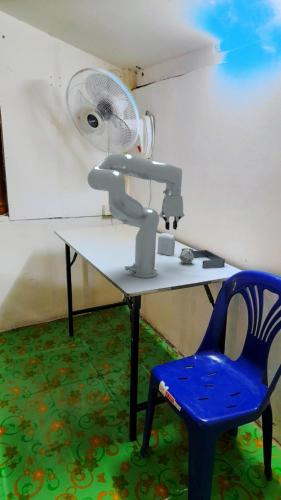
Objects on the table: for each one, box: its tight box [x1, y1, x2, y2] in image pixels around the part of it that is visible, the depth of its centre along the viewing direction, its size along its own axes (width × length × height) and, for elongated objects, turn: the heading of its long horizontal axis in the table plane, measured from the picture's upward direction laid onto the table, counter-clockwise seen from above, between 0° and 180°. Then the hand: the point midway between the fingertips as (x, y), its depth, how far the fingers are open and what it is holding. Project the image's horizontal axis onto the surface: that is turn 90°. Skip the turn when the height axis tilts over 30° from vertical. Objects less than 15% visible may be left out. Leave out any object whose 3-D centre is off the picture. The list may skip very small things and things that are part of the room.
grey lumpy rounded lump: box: [177, 248, 195, 265], centre depth 173 cm, size 9×8×10 cm
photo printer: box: [157, 232, 176, 257], centre depth 188 cm, size 10×4×12 cm, turn 60°
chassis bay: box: [191, 249, 226, 270], centre depth 177 cm, size 14×19×4 cm
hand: (171, 229), depth 166 cm, fingers open, 3 cm apart
